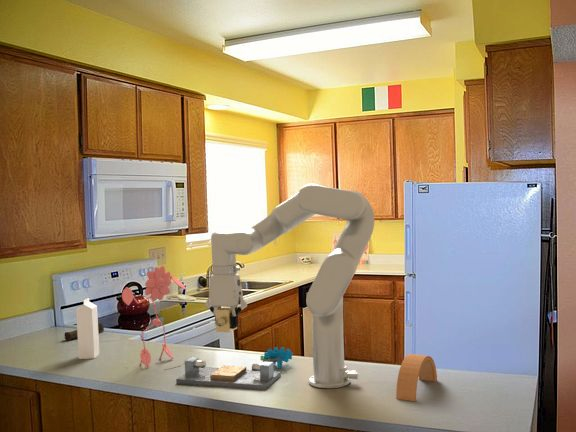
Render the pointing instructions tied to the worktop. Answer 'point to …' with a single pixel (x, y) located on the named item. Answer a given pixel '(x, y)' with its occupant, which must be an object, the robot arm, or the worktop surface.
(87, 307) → the milk
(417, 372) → the arch
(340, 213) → the robot arm
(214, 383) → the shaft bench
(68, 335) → the hand tool
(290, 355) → the gear
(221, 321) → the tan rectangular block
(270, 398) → the worktop surface
